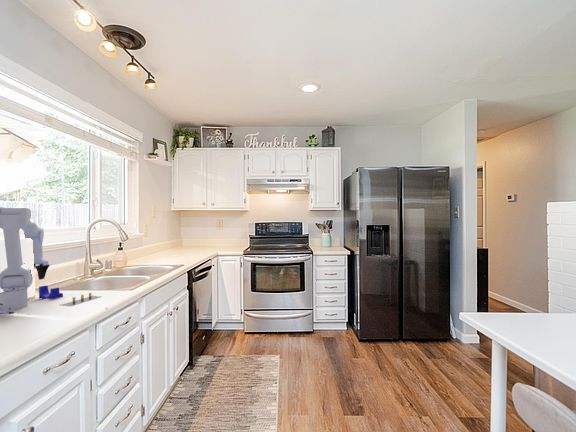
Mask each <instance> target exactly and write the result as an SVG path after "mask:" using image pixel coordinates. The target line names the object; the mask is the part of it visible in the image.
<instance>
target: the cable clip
mask: <svg viewBox="0 0 576 432" xmlns="http://www.w3.org/2000/svg"><path fill="white" fill-rule="evenodd" d="M63 297H64V293H63V292H60V287H53V288H50V291H49V287H48V285H47V284H45V285H42V286H38V298H42V299H41V300H43V299H44V300H47V299H51V300H54V299H58V298H63Z"/></svg>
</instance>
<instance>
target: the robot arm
mask: <svg viewBox="0 0 576 432" xmlns="http://www.w3.org/2000/svg"><path fill="white" fill-rule="evenodd" d="M31 218H32V210H31V209H30V207H29V206H23V207H22V206H21V207H20V206H16V207H15V206H7V207H6V206H0V229H1V230H2V231H3V237H4V246H5V247H4V248H5V254H6V255H5V256H6V263H7V267H6V268H5V269H3V270H2V271H1V272H0V290H2V292H0V314H4V315H11V314H14V313H16V312H15V311H14V310H20V309H23V308H24V309H25V308H26V307H28V288H30V287H31V286H32V283H33V278H34V276H33V277H32V274H31V270H30V269H29V268H27V267H25V266H23V264H24V263H23V253H22V245H21V235H20V230H21V231H23V234H24V238H25V239H26V238H31V239H32V240H33V253H34V269H36V271H37V277H38V280H40V281H41V280H45V277H46V274H47V271H48V269H49V267H50V265H51V264H49V260H47V259H45V258H44V257H43V254H44V253H43V252H44V251H43V242H44V236H45V230H44V228H42V227H39V226H38V225H37V223H36V222H35V221H34V220H32V219H31Z"/></svg>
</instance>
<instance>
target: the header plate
mask: <svg viewBox="0 0 576 432" xmlns="http://www.w3.org/2000/svg"><path fill="white" fill-rule="evenodd" d="M100 298H102V296H101V295H98V296H97V295H91V299H89V295H88V296H85V297H84V301H81V298H77V299H75V303H73V300H71V301H68V302H64V303H61V304H59V306H63V307H66V306H67V307H72V306H76V305H80V304H82V303H86V302H89V301H93V300H96V299H100Z"/></svg>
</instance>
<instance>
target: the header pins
mask: <svg viewBox="0 0 576 432" xmlns="http://www.w3.org/2000/svg"><path fill="white" fill-rule="evenodd" d="M84 296H85V295H84V294H81V295H80V299H81V301H84V298H85V297H84ZM88 296H89V299H91V296H92V292H89V293H88ZM75 300H76V296H73V297H72V301H73V303H75Z"/></svg>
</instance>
